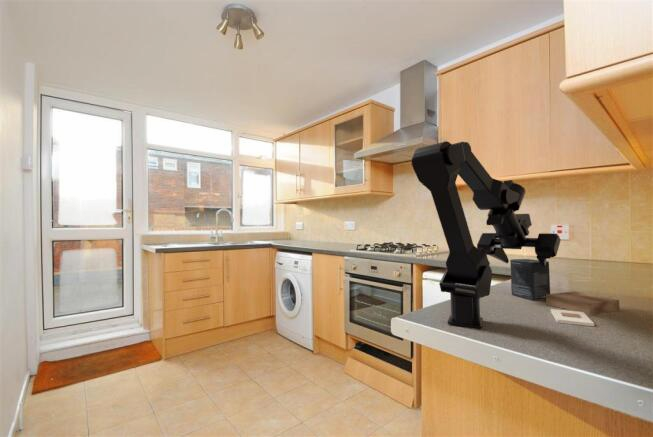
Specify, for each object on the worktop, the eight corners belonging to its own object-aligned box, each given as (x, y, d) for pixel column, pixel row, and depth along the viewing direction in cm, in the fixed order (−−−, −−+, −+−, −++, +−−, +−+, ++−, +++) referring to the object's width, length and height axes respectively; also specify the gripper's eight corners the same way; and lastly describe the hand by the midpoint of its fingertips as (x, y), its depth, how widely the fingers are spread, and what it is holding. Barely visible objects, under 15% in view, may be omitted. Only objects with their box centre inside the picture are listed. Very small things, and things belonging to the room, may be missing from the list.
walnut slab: (589, 314, 69) (588, 303, 69) (546, 304, 78) (545, 294, 79) (619, 310, 72) (619, 299, 72) (574, 300, 81) (574, 291, 81)
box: (551, 300, 83) (549, 261, 83) (532, 301, 82) (531, 261, 82) (527, 293, 90) (526, 258, 91) (510, 294, 90) (509, 258, 90)
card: (594, 326, 61) (594, 322, 61) (557, 322, 64) (557, 318, 64) (583, 314, 69) (583, 311, 69) (550, 311, 72) (550, 308, 72)
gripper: (556, 200, 75) (572, 243, 81) (480, 205, 90) (499, 241, 96) (545, 234, 70) (563, 276, 76) (467, 233, 85) (487, 268, 91)
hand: (525, 263), depth 85 cm, fingers open, 9 cm apart
